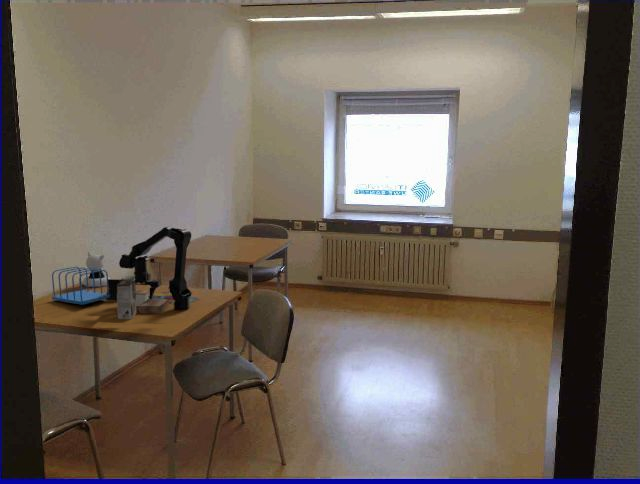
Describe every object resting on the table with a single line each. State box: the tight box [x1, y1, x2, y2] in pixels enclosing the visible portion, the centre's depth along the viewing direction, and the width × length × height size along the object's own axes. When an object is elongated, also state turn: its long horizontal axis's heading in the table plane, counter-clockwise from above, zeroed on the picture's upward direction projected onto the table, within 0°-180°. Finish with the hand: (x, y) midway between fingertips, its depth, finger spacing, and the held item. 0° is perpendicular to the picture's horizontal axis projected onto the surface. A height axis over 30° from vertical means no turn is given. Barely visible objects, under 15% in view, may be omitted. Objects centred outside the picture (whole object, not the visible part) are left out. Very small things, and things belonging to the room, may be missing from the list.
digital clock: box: [120, 273, 137, 291], centre depth 305 cm, size 14×8×9 cm, turn 159°
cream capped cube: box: [136, 290, 150, 307], centre depth 279 cm, size 5×5×7 cm
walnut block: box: [138, 298, 169, 314], centre depth 270 cm, size 10×13×4 cm
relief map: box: [148, 290, 202, 305], centre depth 293 cm, size 25×15×2 cm, turn 52°
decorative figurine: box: [82, 251, 111, 288], centre depth 319 cm, size 15×15×20 cm
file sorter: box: [51, 266, 110, 306], centre depth 287 cm, size 25×17×15 cm
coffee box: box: [116, 280, 137, 320], centre depth 257 cm, size 9×6×16 cm
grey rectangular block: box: [105, 278, 122, 301], centre depth 289 cm, size 11×4×10 cm, turn 96°
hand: (141, 300), depth 279 cm, fingers open, 9 cm apart
